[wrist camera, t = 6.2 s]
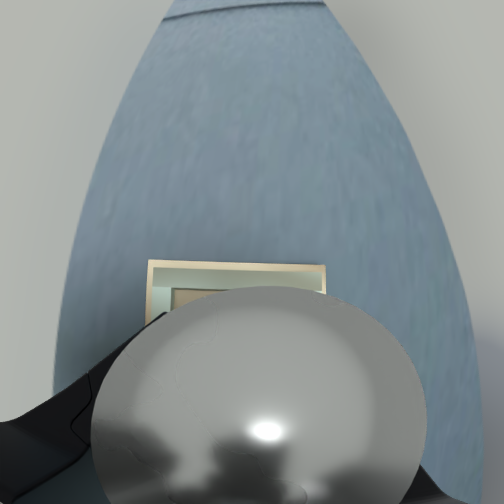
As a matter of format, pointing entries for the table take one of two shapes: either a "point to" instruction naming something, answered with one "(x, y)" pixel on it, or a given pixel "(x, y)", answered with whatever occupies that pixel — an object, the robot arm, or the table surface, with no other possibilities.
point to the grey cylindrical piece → (260, 405)
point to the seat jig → (220, 280)
